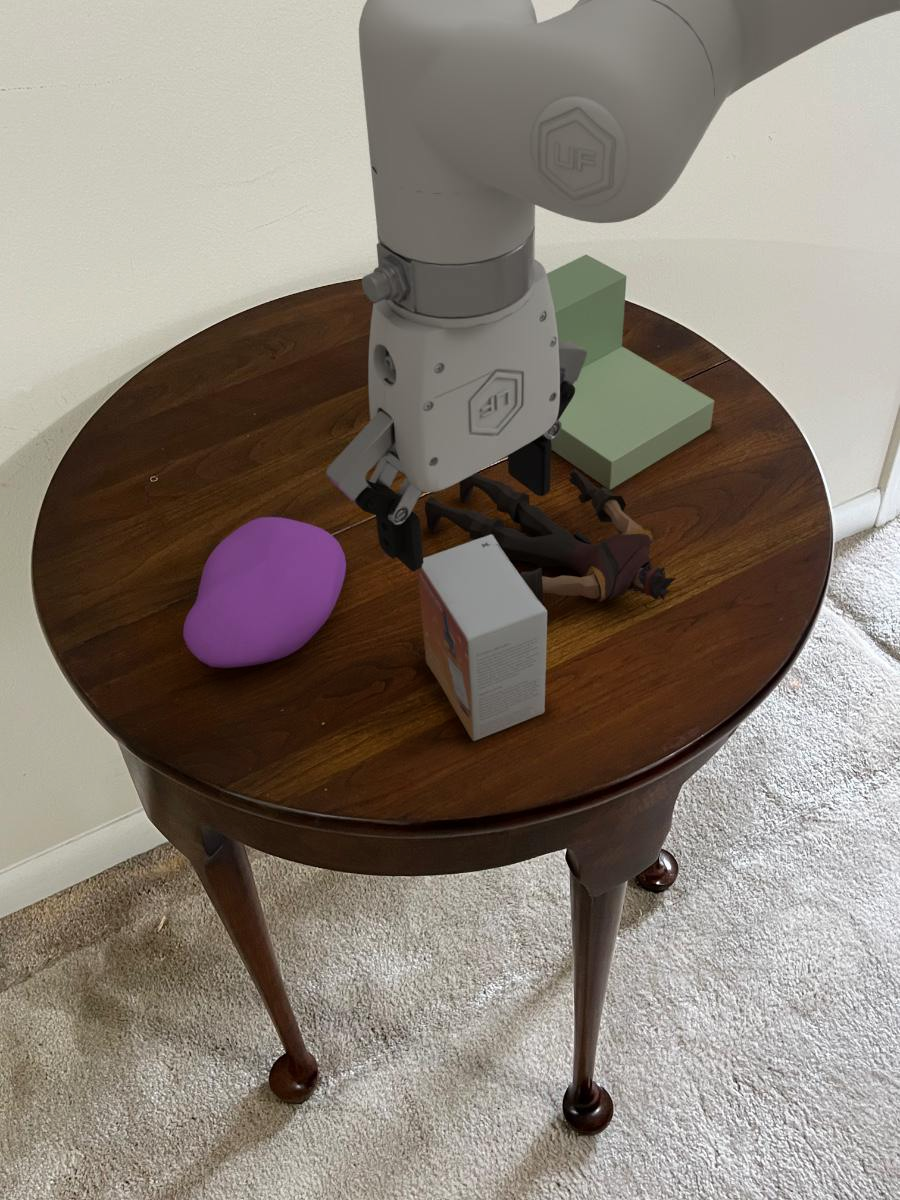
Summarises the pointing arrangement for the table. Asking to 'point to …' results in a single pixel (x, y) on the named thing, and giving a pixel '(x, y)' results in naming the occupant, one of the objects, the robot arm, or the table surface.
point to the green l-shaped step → (616, 383)
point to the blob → (264, 593)
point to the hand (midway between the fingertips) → (467, 519)
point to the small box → (483, 636)
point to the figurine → (562, 541)
